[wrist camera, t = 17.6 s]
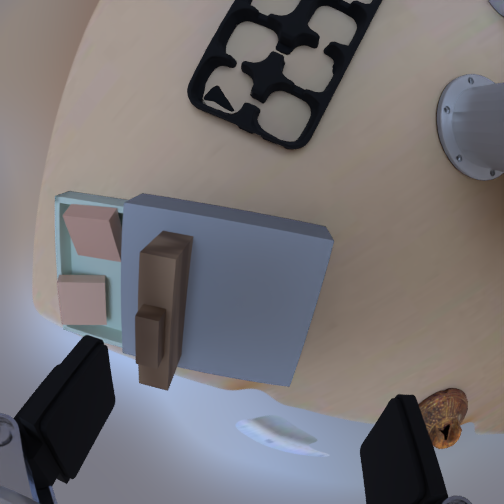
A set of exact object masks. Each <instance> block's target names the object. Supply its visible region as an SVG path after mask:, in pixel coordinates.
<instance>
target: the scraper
mask: <svg viewBox="0 0 504 504" xmlns="http://www.w3.org/2000/svg"><path fill="white" fill-rule="evenodd" d="M192 244H193V236H190V235H184V234H179V233H173V232H168V231H162V232H161V233H160V234H159V235H158V236H156V237H155V238H154V239H153V240H152V241H151V242H150V243H149V244H148V245H147V246H146V247H145V248H144V249H142V250H141V251H140V256H139V279H138V312H137V313H136V315H135V352H136V363H137V364H138V366H139V383H141V384H145V385H149V386H152V387H156V388H160V389H164V390H168V388H169V386H170V384H171V381H172V378H173V376H174V373H175V371H176V368H177V365H178V363H179V360H180V357H181V355H182V342H183V330H184V319H185V308H186V298H187V288H188V279H189V269H190V261H191V252H192Z"/></svg>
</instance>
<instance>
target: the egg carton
mask: <svg viewBox="0 0 504 504" xmlns="http://www.w3.org/2000/svg"><path fill="white" fill-rule="evenodd" d="M381 1H382V0H372V2H371V4H364V3H361V2H359V1H353V2H352V3H351V4H349V3H347V2H345V1H343V0H301V1H300V3H299V4H298V6H297V7H296V9H295V10H294V11H293V12H292V13H290V14H288V15H283V16H279V15H274V14H270V15H268V16H267V15H264V14H262V13H259V11H258V10H257V9H256V8H255V7H253V6H251V2H252V0H235V1H234V3H233V4H232V6H231V7H230V9H229V11H228V13H227V14H226V16H225V18H224V19H223V21H222V22H221V24H220V26H219V28H218V30H217V32H216V33H215V35H214V37H213V38H212V40H211V42H210V44H209V45H208V47H207V49H206V51H205V53H204V55H203V57H202V59H201V60H200V62H199V64H198V66H197V68H196V70H195V72H194V74H193V76H192V78H191V80H190V82H189V85H188V89H187V93H188V97H189V100H190V102H191V103H192V104H193V105H194V106H195V107H196V108H198V109H200V110H202V111H204V112H207V113H209V114H212V115H214V116H217V117H219V118H222V119H224V120H227V121H229V122H231V123H233V124H236V125H237V126H238V127H239V128H240V129H243V130H245V131H247V132H249V133H251V134H252V133H255V134H257V135H259V136H261V137H262V138H263V139H265V140H267V141H270V142H272V143H275V144H279V145H281V146H284V148H286V149H299V148H302V147H304V146H305V145H306V144H307V143H308V142H309V141H310V139H311V137H312V135H313V133H314V131H315V129H316V127H317V126H318V124H319V122H320V120H321V118H322V116H323V114H324V112H325V110H326V108H327V106H328V104H329V102H330V100H331V98H332V96H333V94H334V93H335V91H336V89H337V87H338V85H339V83H340V81H341V79H342V77H343V75H344V73H345V71H346V69H347V67H348V65H349V63H350V61H351V60H352V58H353V56H354V54H355V52H356V50H357V48H358V46H359V44H360V42H361V40H362V38H363V36H364V34H365V32H366V30H367V29H368V27H369V24H370V22H371V21H372V19H373V17H374V15H375V13H376V11H377V9H378V7H379V5H380V3H381ZM320 6H330V7H332V8H335V9H337V10H339V11H341V12H343V13H345V14H347V15H348V16H350V17H352V18H353V19H354V20H355V22H356V24H357V30H356V33H355V35H354V37H353V39H352V41H351V42H350V44H349V45H348V46H347V45H342V44H339V43H337V42H330V43H329V45H328V46H327V47H326V48H325V49H324V53H325V54H326V55H328V56H329V57H331V58H332V59H333V61H334V65H333V71H332V72H333V77H332V79H331V81H330V82H329V84H328V86H327V87H326V89H325V90H324V91H323V92H313V91H311V90H308V89H306V90H304V89H302V88H300V87H298V86H296V85H294V83H293V82H292V81H291V80H289V79H287V78H286V77H285V76H284V75H283V73H282V71H283V68H284V65H285V62H284V56H283V55H281V54H279V53H277V52H274V51H273V52H271V53H270V55H269V56H268V57H267V58H266V59H265V60H263V61H261V62H256V63H252V62H247V61H244V62H242V65H241V69H242V71H243V72H244V73H245V74H247V75H249V76H250V77H251V78H252V80H253V87H252V90H251V91H252V93H251V94H250V95H251V96H252V97H253V98H254V99H256V100H258V101H260V102H261V103H265V101H266V100H267V98H268V97H269V95H270V94H271V93H273V92H275V91H284V92H287V93H290V94H292V95H294V96H296V97H298V98H300V99H302V100H303V101H305V102H306V103H307V104H308V105H309V106H310V109H311V116H310V119H309V121H308V123H307V125H306V127H305V129H304V131H303V132H302V134H301V136H300V137H299V138H298V139H297V140H296V141H294V142H288V141H283V140H280V139H278V138H276V137H274V136H273V135H271V134H269V133H268V132H266V131H264V130H263V129H262V128H261V126H260V125H259V123H258V120H257V119H258V116H259V113H260V109H259V108H258V107H256V106H255V105H252V104H250V103H244V104H243V106H242V108H241V109H240V110H239V111H238V112H236V113H237V114H236V113H234V114H233V115H229V113H225V112H223V111H220V110H217V109H214V108H212V107H210V106H207V105H206V104H203V102H202V101H204V100H208V101H214V102H216V103H217V104H219V105H220V106H222V107H223V108H225V109H227V110H229V111H231V112H232V111H234V109H233V108H232V106H231V104H230V103H229V101H228V99H227V98H226V97H225V95H224V94H223V92H222V91H221V89H220V87H219V86H215V87H213V88H212V89H211V90H210V91H209V92H208V93H207V94H206V95H205V96H204V100H203V99H202V97H203V94H204V91H205V84H206V82H207V80H208V78H209V76H210V75H211V73H212V72H213V71H214V69H216V68H217V67H219V66H228V67H230V68H234V67H235V66H236V64H237V62H236V61H235V59H234V58H233V57H232V56H231V55H228V54H226V45H227V42H228V40H229V38H230V36H231V34H232V33H233V31H234V29H235V28H236V25H238V24H240V23H241V22H244V21H250V22H254V23H257V24H260V25H262V26H265V27H267V28H269V29H271V30H273V31H274V32H275V33H276V34H277V36H278V43H277V46H276V50H277V51H279V52H281V53H284V54H286V55H289V54H290V53H291V52H292V51H293V50H294V49H295V48H296V47H298V46H301V45H306V46H310V47H312V48H317V47H318V44H319V38H320V37H319V35H318V34H317V33H316V32H314V31H313V30H311V29H310V28H309V26H308V22H309V20H310V19H311V17H312V15H313V14H314V12H315V11H316V9H317V8H318V7H320Z"/></svg>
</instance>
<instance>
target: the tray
mask: <svg viewBox="0 0 504 504" xmlns="http://www.w3.org/2000/svg"><path fill="white" fill-rule="evenodd" d="M126 201H128V200H125V199H118V198H112V197H105V196H99V195H92V194H85V193H78V192H72V191H68V192H65V193H62V194H59V195H56V196H55V245H56V264H57V278H58V277H59V275H105V291H106V315H107V325H63V329H64V330H67V331H70V332H73V333H76V334H79V335H82V336H85V335H90V336H93V337H96V338H99V339H102V340H103V342H104V343H108V344H111V345H115V346H118V347H122V326H121V262H117V261H111V260H105V259H99V258H93V257H87V256H81V255H78V254H77V252H76V249H75V247H74V244H73V242H72V239H71V237H70V234H69V232H68V229H67V226H66V224H65V221H64V218H63V216H62V215H63V214H64V213H65V211H66V210H67V209H68V207H69V206H70V205H71V204H79V205H90V206H101V207H111V208H117V211H118V215H119V219H120V223H121V226H122V224H123V208H124V202H126Z"/></svg>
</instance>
